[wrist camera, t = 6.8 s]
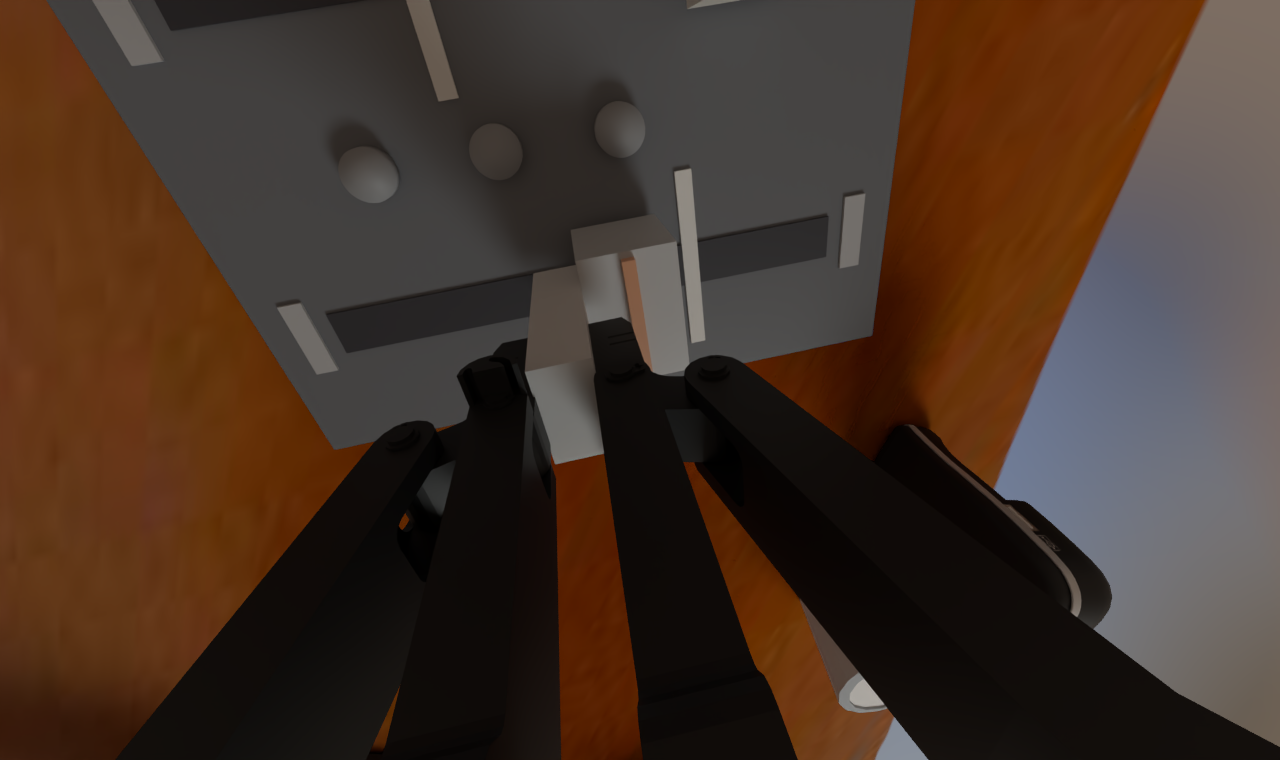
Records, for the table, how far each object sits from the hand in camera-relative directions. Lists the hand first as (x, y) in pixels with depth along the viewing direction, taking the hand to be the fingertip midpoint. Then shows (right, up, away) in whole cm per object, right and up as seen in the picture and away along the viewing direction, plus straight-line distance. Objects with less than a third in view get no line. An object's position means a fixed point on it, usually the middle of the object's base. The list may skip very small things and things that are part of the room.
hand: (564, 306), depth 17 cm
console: (0, +6, +1) cm, 6 cm away
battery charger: (+18, -8, +13) cm, 24 cm away
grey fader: (+2, +1, +1) cm, 3 cm away
